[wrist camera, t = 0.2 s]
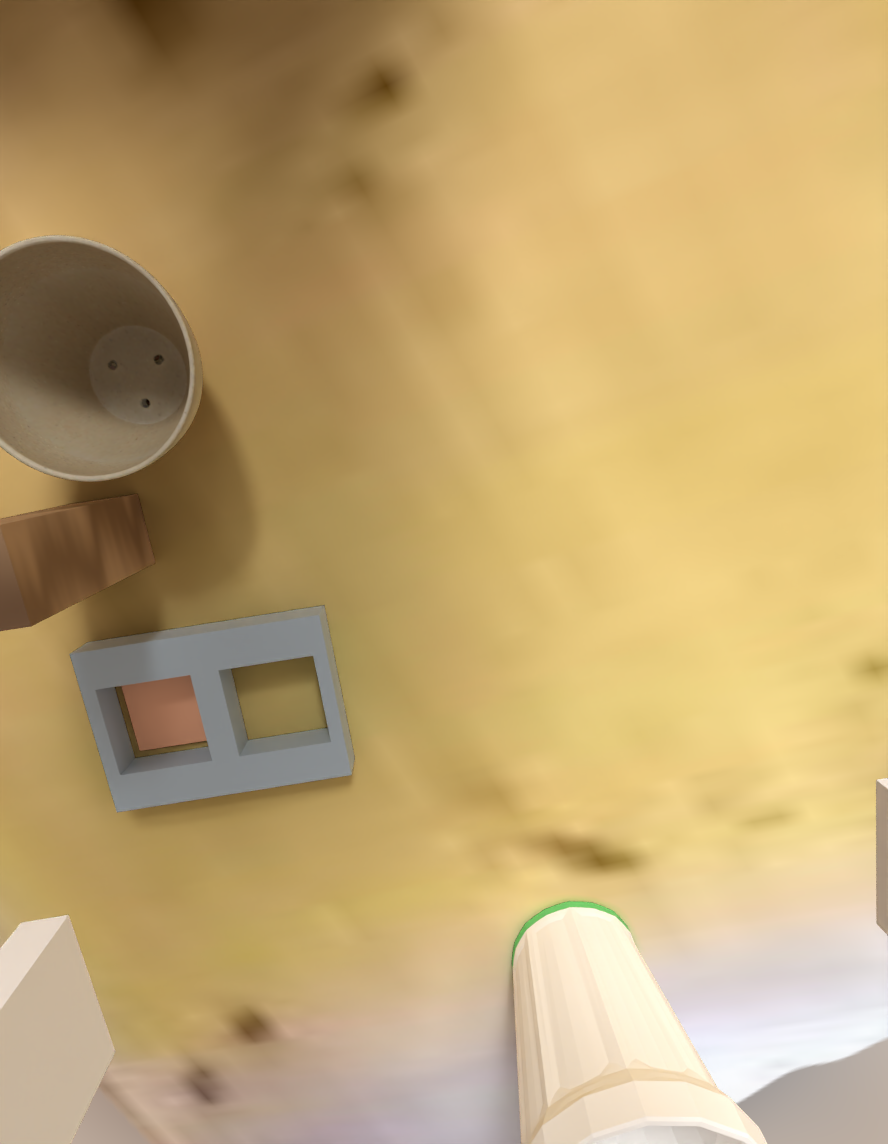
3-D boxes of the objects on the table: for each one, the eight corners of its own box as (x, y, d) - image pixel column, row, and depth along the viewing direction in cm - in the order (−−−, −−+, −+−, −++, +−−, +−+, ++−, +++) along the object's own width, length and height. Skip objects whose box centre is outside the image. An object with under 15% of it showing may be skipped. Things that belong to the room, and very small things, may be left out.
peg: (66, 504, 35) (-108, 541, 24) (137, 493, 35) (-1, 525, 24) (86, 573, 36) (-72, 642, 24) (155, 563, 36) (31, 626, 24)
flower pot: (99, 496, 35) (20, 512, 28) (13, 314, 33) (-96, 282, 26) (267, 436, 35) (230, 438, 28) (192, 248, 32) (131, 198, 26)
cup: (687, 894, 43) (833, 1143, 28) (628, 1040, 45) (733, 1341, 30) (511, 857, 41) (565, 1097, 26) (461, 1009, 44) (484, 1308, 29)
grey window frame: (87, 642, 37) (69, 654, 35) (324, 605, 37) (319, 614, 35) (131, 793, 39) (116, 812, 37) (354, 757, 39) (351, 774, 37)
